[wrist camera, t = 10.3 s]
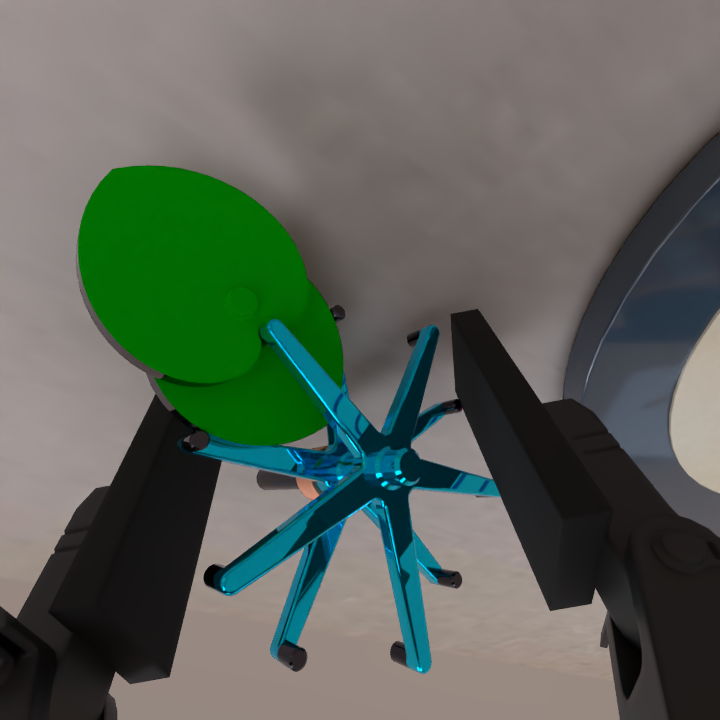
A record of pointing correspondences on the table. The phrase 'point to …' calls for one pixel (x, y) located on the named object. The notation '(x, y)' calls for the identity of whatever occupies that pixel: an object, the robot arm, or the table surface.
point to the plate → (662, 344)
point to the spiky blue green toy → (263, 381)
